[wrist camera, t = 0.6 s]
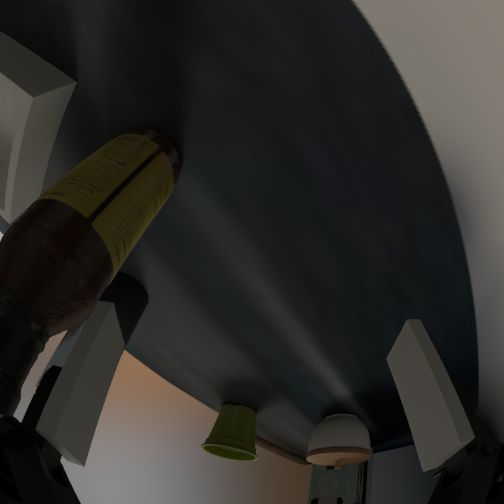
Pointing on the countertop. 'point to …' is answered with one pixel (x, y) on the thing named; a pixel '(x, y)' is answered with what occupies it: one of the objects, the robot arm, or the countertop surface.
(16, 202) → the tray
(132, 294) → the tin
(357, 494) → the device
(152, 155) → the sauce bottle
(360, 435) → the lidded jar
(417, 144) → the countertop surface
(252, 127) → the countertop surface
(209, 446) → the plant pot
